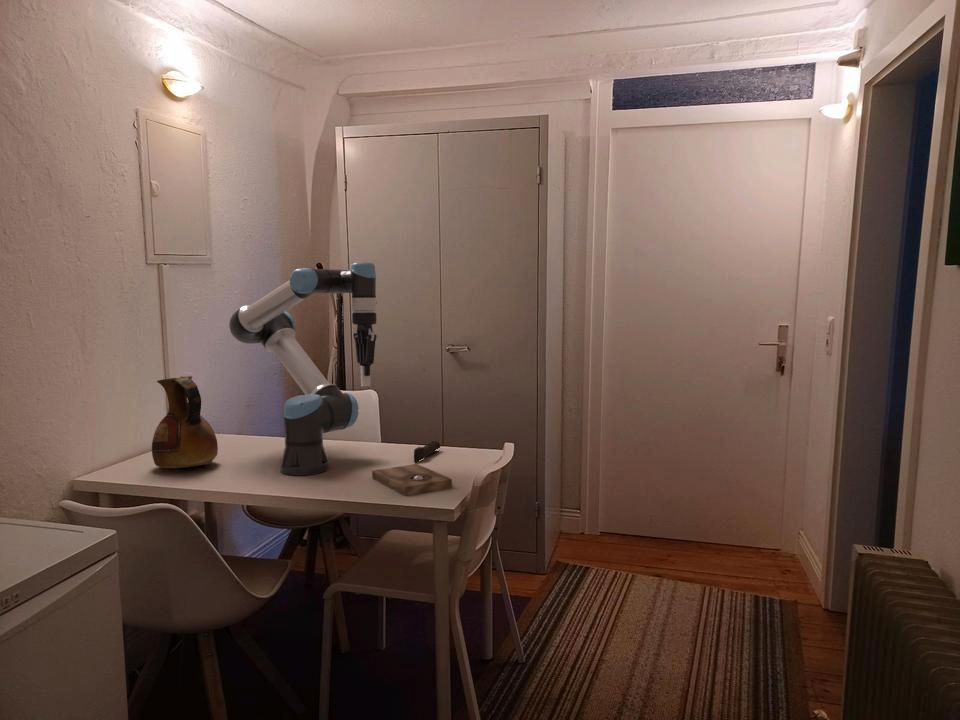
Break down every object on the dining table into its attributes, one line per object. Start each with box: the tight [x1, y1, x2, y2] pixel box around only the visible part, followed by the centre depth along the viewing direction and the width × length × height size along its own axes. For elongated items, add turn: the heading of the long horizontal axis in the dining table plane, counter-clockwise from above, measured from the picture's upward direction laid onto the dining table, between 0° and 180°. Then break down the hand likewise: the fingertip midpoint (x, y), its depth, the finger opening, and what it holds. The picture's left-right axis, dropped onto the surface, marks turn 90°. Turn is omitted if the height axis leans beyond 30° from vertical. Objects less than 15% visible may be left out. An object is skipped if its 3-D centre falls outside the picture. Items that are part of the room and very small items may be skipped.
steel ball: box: [413, 475, 423, 480], centre depth 201 cm, size 3×3×3 cm
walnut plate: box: [371, 463, 453, 497], centre depth 205 cm, size 15×22×2 cm
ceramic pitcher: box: [151, 375, 219, 469], centre depth 224 cm, size 20×20×30 cm
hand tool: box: [413, 440, 441, 463], centre depth 238 cm, size 19×4×5 cm, turn 160°
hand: (365, 385), depth 222 cm, fingers closed
